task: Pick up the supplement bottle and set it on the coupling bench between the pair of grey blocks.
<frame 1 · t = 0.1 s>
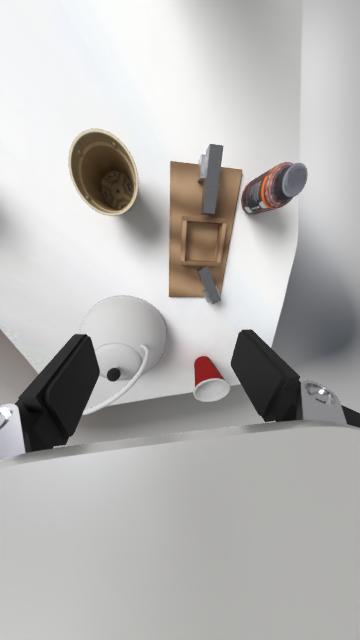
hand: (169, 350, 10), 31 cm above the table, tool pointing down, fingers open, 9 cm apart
plastic cup: (201, 362, 54), on the table
pair of grey blocks: (199, 242, 35), resting on coupling bench
flower pot: (119, 192, 30), on the table
supplement bottle: (253, 198, 33), on the table
coupling bench: (199, 242, 35), on the table
kettle: (124, 333, 45), on the table
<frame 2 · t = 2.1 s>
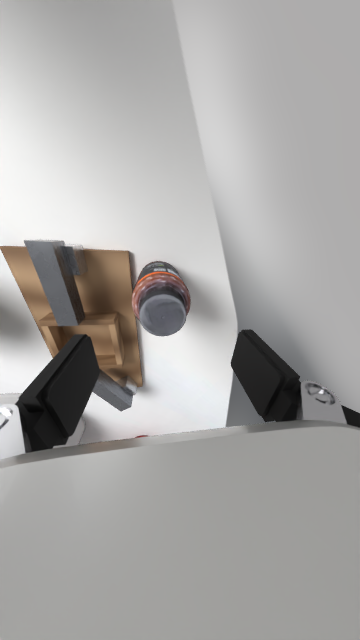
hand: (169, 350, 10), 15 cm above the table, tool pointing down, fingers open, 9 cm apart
pair of grey blocks: (93, 334, 25), resting on coupling bench
supplement bottle: (159, 281, 23), on the table
coupling bench: (93, 334, 25), on the table
kettle: (27, 425, 35), on the table
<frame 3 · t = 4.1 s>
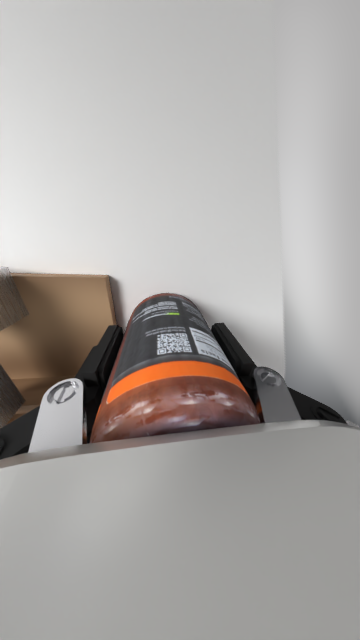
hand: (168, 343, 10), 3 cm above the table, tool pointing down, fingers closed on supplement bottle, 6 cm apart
pair of grey blocks: (58, 403, 15), resting on coupling bench
supplement bottle: (166, 323, 13), on the table, touching gripper
coupling bench: (58, 403, 15), on the table
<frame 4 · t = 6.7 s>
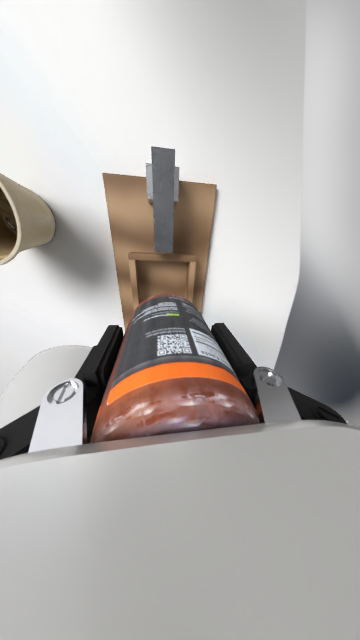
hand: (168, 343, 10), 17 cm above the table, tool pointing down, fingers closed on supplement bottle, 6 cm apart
pair of grey blocks: (162, 282, 25), resting on coupling bench
flower pot: (31, 218, 20), on the table
supplement bottle: (166, 324, 13), point 14 cm above the table, touching gripper
coupling bench: (162, 282, 25), on the table
kettle: (80, 386, 35), on the table
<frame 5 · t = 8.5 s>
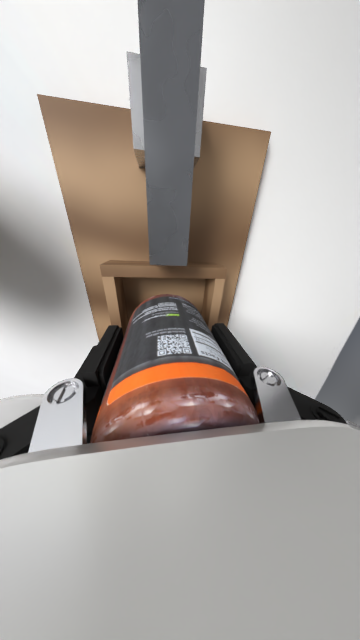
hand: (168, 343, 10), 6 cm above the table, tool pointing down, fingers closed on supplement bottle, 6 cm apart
pair of grey blocks: (165, 307, 16), resting on coupling bench
supplement bottle: (166, 324, 13), point 4 cm above the table, touching gripper
coupling bench: (165, 307, 16), on the table
kettle: (53, 439, 25), on the table
when the fingers open (5 cm above the table, at t = 9.6 s): supplement bottle drops 2 cm, resting on coupling bench.
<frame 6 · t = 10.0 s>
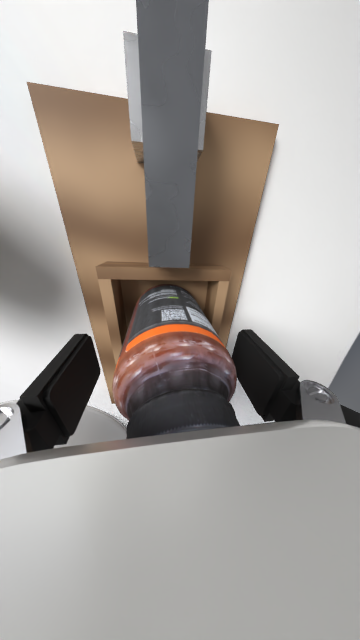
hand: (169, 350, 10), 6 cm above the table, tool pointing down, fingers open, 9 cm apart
pair of grey blocks: (165, 310, 15), resting on coupling bench
supplement bottle: (167, 311, 15), point 1 cm above the table, touching coupling bench
coupling bench: (165, 310, 15), on the table
kettle: (51, 444, 24), on the table
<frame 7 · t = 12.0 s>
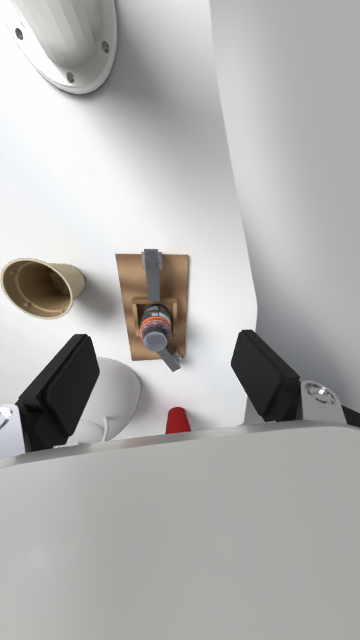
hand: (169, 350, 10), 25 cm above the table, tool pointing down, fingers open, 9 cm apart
plastic cup: (176, 412, 53), on the table
pair of grey blocks: (156, 314, 36), resting on coupling bench
flower pot: (69, 279, 31), on the table
supplement bottle: (156, 314, 35), point 1 cm above the table, touching coupling bench
coupling bench: (156, 314, 36), on the table
kettle: (98, 388, 45), on the table
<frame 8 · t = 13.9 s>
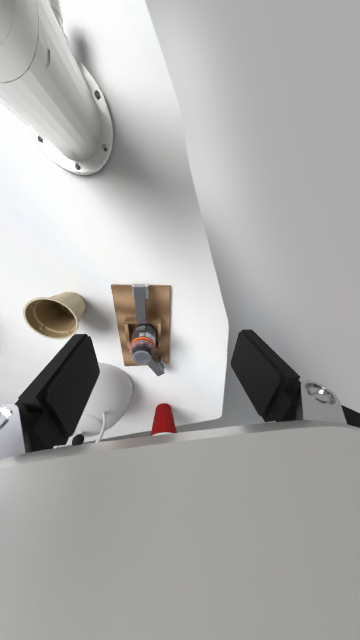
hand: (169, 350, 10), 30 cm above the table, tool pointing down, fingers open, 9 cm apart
plastic cup: (162, 407, 62), on the table
pair of grey blocks: (144, 329, 44), resting on coupling bench
flower pot: (73, 303, 38), on the table
supplement bottle: (145, 330, 43), point 1 cm above the table, touching coupling bench
coupling bench: (144, 329, 44), on the table
kettle: (97, 387, 53), on the table
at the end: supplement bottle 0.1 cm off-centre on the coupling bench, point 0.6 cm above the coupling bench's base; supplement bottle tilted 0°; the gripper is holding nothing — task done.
